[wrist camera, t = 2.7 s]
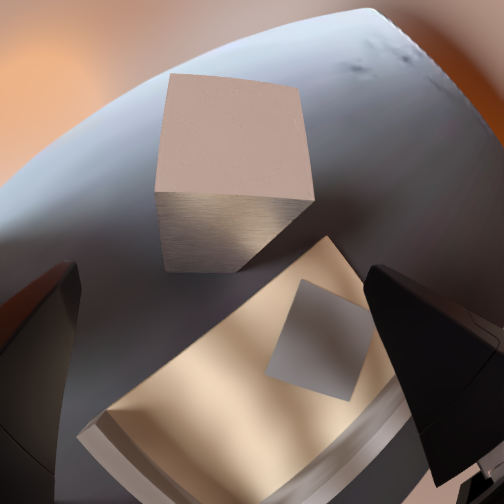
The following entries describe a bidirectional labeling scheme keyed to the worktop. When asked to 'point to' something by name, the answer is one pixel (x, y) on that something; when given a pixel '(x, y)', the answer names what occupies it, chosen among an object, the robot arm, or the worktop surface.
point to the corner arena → (262, 399)
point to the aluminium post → (228, 170)
